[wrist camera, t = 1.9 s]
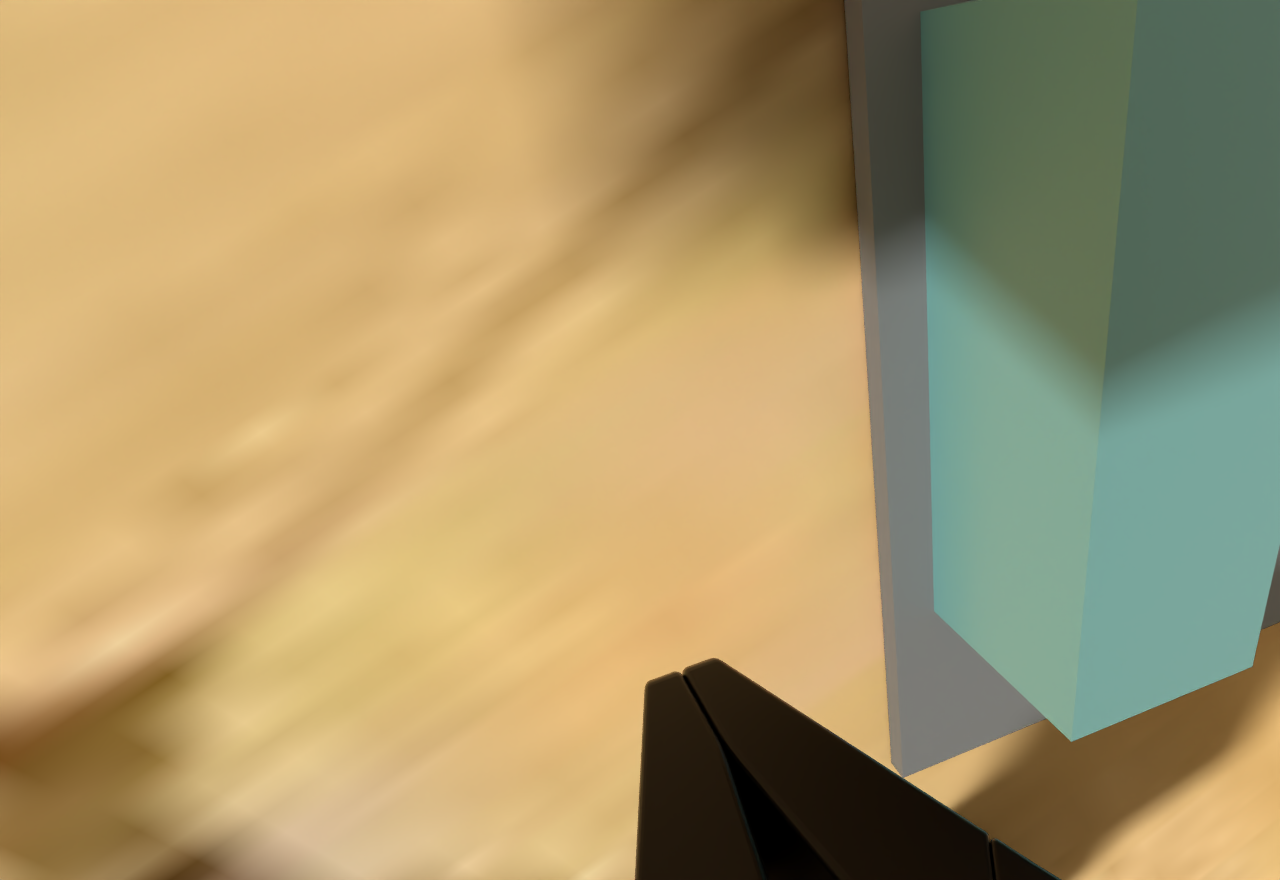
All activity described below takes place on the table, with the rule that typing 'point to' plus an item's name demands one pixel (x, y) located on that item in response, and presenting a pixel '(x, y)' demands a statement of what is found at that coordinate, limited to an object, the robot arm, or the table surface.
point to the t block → (1103, 341)
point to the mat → (913, 406)
